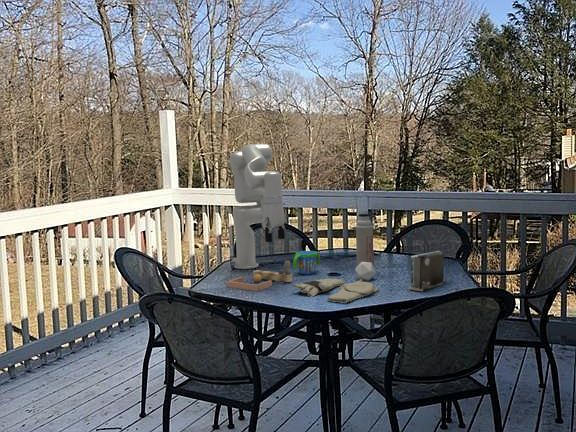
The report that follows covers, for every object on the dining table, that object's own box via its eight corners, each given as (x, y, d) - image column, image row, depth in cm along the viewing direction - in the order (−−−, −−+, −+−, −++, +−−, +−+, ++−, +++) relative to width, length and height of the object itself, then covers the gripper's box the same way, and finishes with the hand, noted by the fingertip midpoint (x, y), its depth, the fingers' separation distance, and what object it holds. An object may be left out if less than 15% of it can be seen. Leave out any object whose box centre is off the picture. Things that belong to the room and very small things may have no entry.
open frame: (227, 287, 251) (226, 281, 251) (241, 282, 260) (241, 276, 260) (257, 291, 242) (257, 285, 241) (272, 285, 250) (271, 280, 250)
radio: (436, 279, 250) (435, 246, 249) (453, 282, 244) (453, 248, 242) (404, 289, 235) (403, 254, 233) (421, 293, 229) (421, 256, 227)
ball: (252, 282, 259) (252, 274, 258) (257, 280, 262) (256, 272, 261) (258, 283, 257) (258, 275, 256) (263, 281, 260) (263, 273, 259)
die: (379, 280, 256) (371, 261, 260) (375, 274, 249) (368, 255, 253) (362, 286, 257) (355, 267, 262) (358, 281, 250) (351, 261, 254)
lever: (253, 277, 264) (252, 258, 263) (257, 276, 267) (256, 257, 266) (288, 281, 253) (288, 261, 252) (292, 280, 255) (291, 260, 254)
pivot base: (272, 282, 256) (272, 281, 256) (279, 279, 261) (279, 279, 261) (283, 283, 253) (283, 283, 253) (290, 281, 258) (290, 280, 258)
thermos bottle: (377, 273, 267) (376, 213, 264) (363, 275, 263) (361, 215, 260) (367, 270, 274) (366, 212, 271) (353, 272, 270) (352, 214, 267)
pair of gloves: (289, 294, 236) (288, 281, 235) (329, 282, 254) (329, 271, 253) (345, 306, 215) (345, 292, 214) (385, 292, 233) (385, 280, 232)
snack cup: (313, 269, 282) (313, 248, 280) (326, 272, 273) (326, 251, 272) (287, 274, 273) (286, 253, 272) (299, 277, 264) (299, 256, 263)
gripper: (278, 198, 254) (279, 237, 256) (254, 202, 240) (256, 242, 242) (292, 199, 250) (293, 237, 252) (268, 202, 236) (270, 243, 237)
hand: (275, 240), depth 247 cm, fingers open, 9 cm apart
